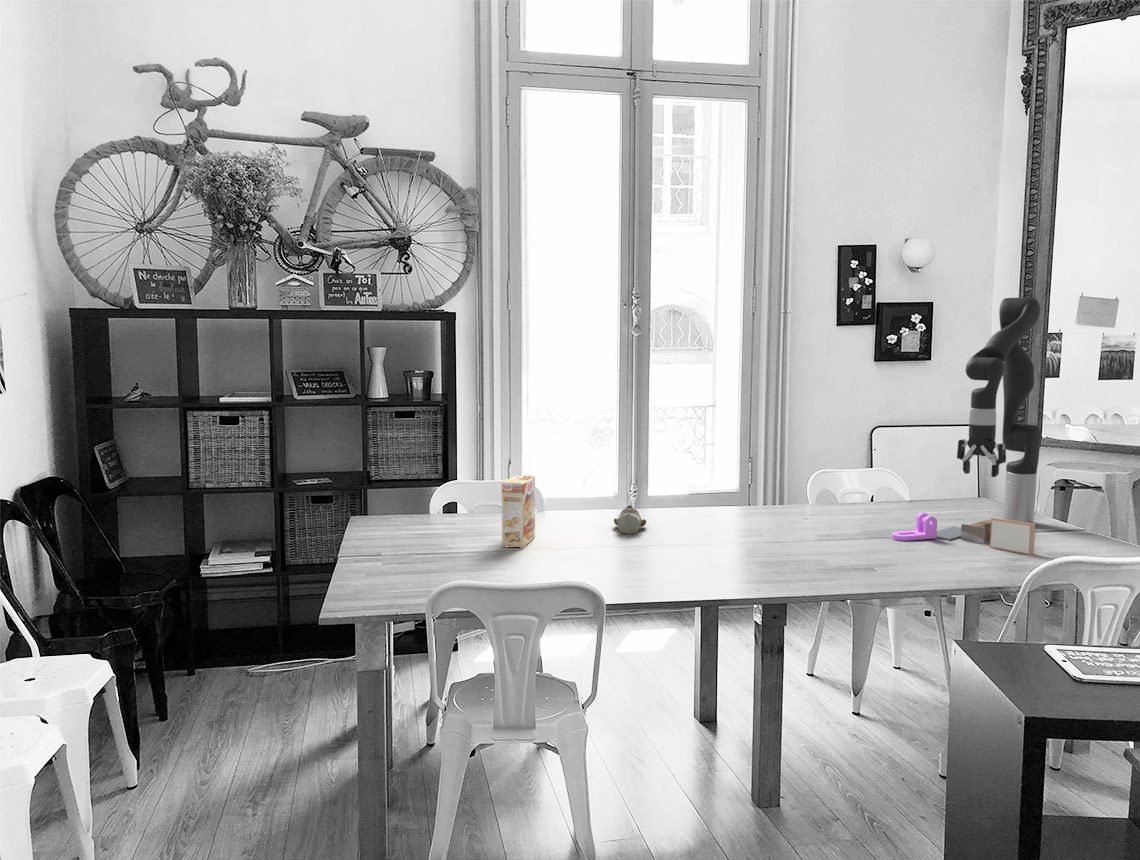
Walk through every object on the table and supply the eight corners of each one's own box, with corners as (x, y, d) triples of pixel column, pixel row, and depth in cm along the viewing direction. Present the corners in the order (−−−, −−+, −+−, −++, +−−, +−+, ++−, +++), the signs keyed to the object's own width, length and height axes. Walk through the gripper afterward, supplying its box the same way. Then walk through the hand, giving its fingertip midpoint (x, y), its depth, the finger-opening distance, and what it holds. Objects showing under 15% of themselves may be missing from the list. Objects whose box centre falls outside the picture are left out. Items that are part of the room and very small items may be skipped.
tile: (992, 546, 281) (994, 517, 280) (1033, 554, 272) (1035, 523, 271) (989, 547, 280) (990, 518, 279) (1030, 555, 271) (1031, 524, 270)
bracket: (927, 533, 295) (927, 512, 294) (936, 538, 290) (937, 516, 289) (888, 536, 293) (888, 515, 292) (897, 541, 288) (897, 519, 287)
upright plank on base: (979, 534, 298) (980, 518, 297) (1001, 538, 292) (1002, 522, 292) (960, 539, 290) (961, 524, 289) (983, 544, 285) (983, 527, 284)
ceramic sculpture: (611, 507, 294) (614, 501, 309) (611, 535, 294) (614, 527, 309) (645, 508, 293) (647, 502, 307) (645, 536, 293) (646, 528, 308)
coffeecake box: (524, 548, 277) (524, 483, 275) (500, 547, 278) (500, 482, 276) (536, 537, 292) (536, 475, 289) (514, 536, 293) (513, 474, 291)
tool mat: (953, 528, 306) (954, 526, 306) (977, 532, 300) (978, 530, 300) (925, 536, 294) (925, 534, 294) (949, 540, 288) (949, 538, 288)
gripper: (1011, 423, 284) (1009, 476, 286) (966, 419, 294) (964, 470, 296) (999, 425, 279) (997, 479, 281) (954, 421, 290) (952, 473, 292)
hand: (980, 475), depth 289 cm, fingers open, 8 cm apart
